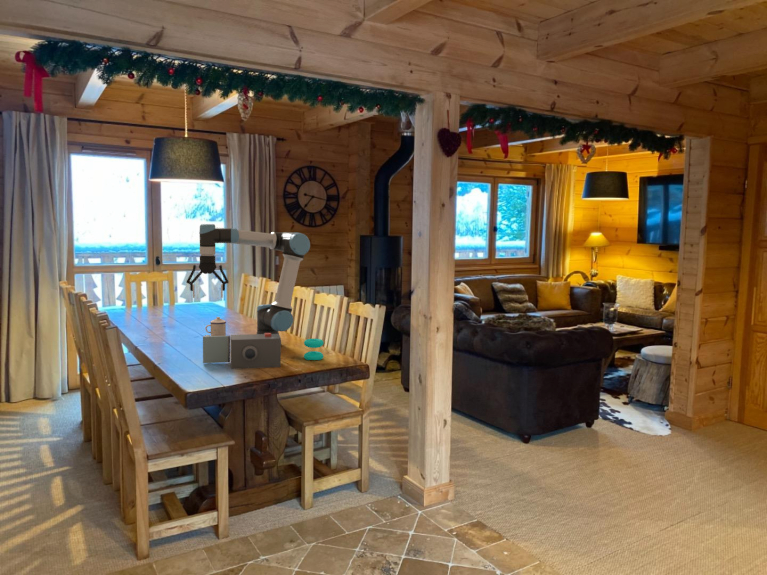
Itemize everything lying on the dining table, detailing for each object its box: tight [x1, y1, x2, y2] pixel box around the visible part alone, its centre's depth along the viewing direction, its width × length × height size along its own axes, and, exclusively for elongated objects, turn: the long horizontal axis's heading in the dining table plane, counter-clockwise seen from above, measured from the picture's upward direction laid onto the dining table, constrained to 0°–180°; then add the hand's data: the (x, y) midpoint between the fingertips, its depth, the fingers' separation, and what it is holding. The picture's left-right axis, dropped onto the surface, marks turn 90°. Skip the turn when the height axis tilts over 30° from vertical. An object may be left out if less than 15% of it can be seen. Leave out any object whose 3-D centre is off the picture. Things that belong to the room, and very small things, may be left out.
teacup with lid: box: [205, 316, 227, 336], centre depth 362 cm, size 12×9×12 cm
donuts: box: [303, 338, 325, 361], centre depth 312 cm, size 10×10×10 cm
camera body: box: [230, 333, 282, 370], centre depth 295 cm, size 14×23×15 cm, turn 106°
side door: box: [202, 334, 231, 364], centre depth 300 cm, size 13×7×13 cm, turn 105°
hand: (207, 297), depth 307 cm, fingers open, 13 cm apart
